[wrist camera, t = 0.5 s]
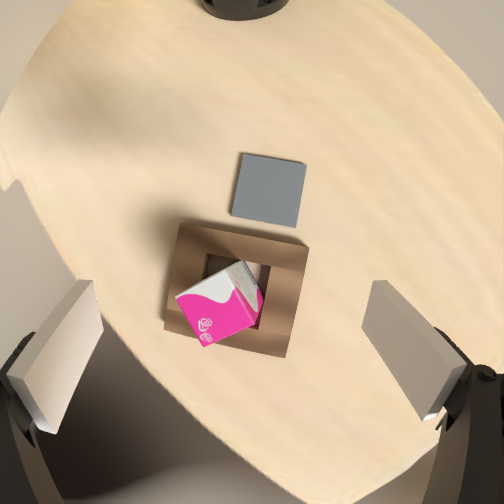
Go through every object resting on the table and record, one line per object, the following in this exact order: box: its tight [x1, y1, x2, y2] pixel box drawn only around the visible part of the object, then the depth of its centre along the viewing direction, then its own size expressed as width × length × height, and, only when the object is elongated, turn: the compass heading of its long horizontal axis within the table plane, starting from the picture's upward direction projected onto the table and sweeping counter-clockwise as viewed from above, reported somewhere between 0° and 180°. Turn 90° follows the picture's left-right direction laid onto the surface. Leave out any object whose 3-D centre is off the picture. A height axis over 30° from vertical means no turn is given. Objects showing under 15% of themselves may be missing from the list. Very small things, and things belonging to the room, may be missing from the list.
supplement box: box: [175, 260, 264, 347], centre depth 32 cm, size 6×6×12 cm
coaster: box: [231, 154, 307, 228], centre depth 36 cm, size 8×8×1 cm
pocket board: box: [164, 223, 309, 358], centre depth 37 cm, size 14×16×2 cm
